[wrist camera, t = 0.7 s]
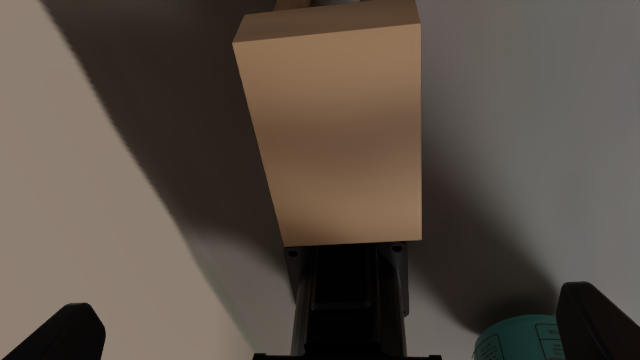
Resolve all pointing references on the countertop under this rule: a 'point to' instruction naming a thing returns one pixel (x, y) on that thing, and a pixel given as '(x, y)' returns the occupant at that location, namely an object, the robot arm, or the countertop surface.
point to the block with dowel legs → (337, 117)
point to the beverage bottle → (521, 340)
